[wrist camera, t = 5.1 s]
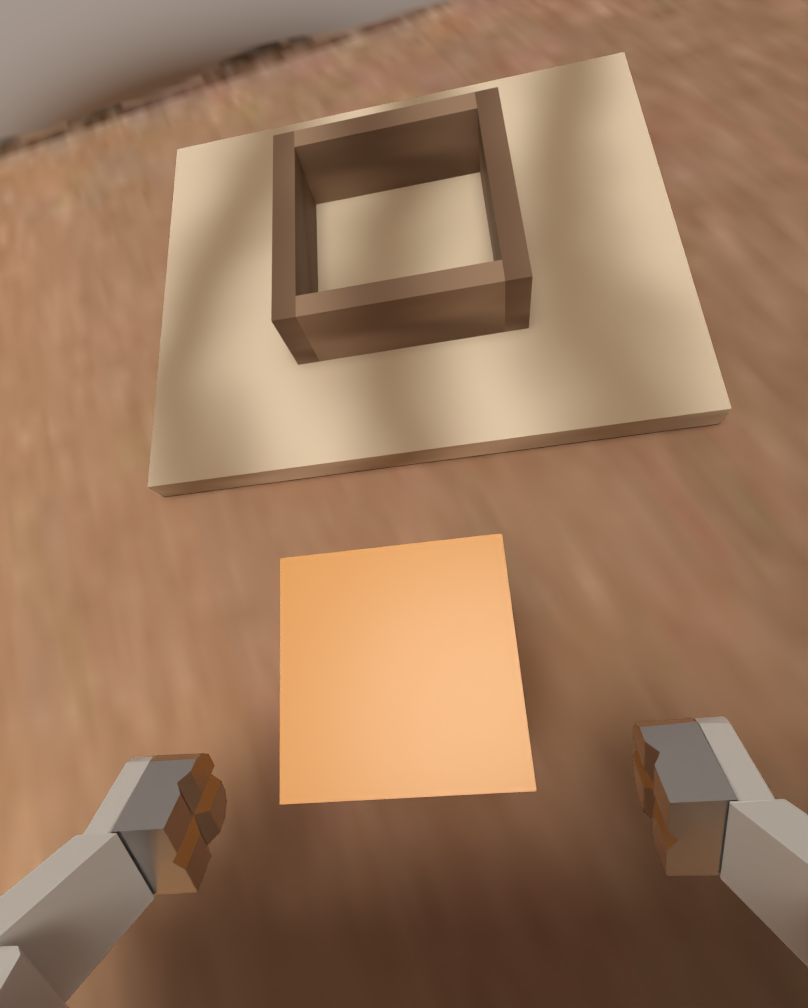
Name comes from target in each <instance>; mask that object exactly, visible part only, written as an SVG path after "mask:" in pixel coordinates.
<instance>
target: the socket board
mask: <svg viewBox="0 0 808 1008" xmlns="http://www.w3.org/2000/svg"><path fill="white" fill-rule="evenodd" d="M730 410H731V405H730V402H729V399H728V395H727V392H726V389H725V385H724V382H723V379H722V375H721V372H720V369H719V365H718V362H717V359H716V355H715V352H714V349H713V346H712V342H711V339H710V336H709V332H708V329H707V326H706V322H705V319H704V316H703V312H702V309H701V306H700V302H699V299H698V296H697V292H696V289H695V286H694V282H693V279H692V276H691V273H690V269H689V266H688V263H687V259H686V256H685V253H684V249H683V246H682V243H681V239H680V236H679V233H678V229H677V226H676V223H675V219H674V216H673V213H672V209H671V206H670V203H669V199H668V196H667V193H666V190H665V186H664V183H663V180H662V176H661V173H660V170H659V166H658V163H657V160H656V156H655V153H654V150H653V146H652V143H651V140H650V136H649V133H648V130H647V126H646V123H645V120H644V117H643V113H642V110H641V107H640V103H639V100H638V97H637V93H636V90H635V87H634V83H633V80H632V77H631V73H630V70H629V67H628V63H627V60H626V57H625V53H624V52H622V53H618V54H613V55H608V56H604V57H599V58H595V59H590V60H585V61H581V62H576V63H572V64H567V65H562V66H558V67H553V68H549V69H544V70H540V71H535V72H530V73H526V74H521V75H517V76H512V77H507V78H503V79H498V80H494V81H489V82H485V83H480V84H475V85H471V86H466V87H462V88H457V89H452V90H448V91H443V92H439V93H434V94H430V95H425V96H420V97H416V98H411V99H407V100H402V101H397V102H393V103H388V104H384V105H379V106H374V107H370V108H365V109H361V110H356V111H352V112H347V113H342V114H338V115H333V116H329V117H324V118H319V119H315V120H310V121H306V122H301V123H297V124H292V125H287V126H283V127H278V128H274V129H269V130H264V131H260V132H255V133H251V134H246V135H242V136H237V137H232V138H228V139H223V140H219V141H214V142H209V143H205V144H200V145H196V146H191V147H187V148H182V149H177V161H176V172H175V183H174V195H173V206H172V217H171V229H170V240H169V251H168V262H167V274H166V285H165V296H164V308H163V319H162V330H161V341H160V353H159V364H158V375H157V387H156V398H155V409H154V420H153V432H152V443H151V454H150V466H149V477H148V488H150V489H152V490H153V491H155V492H157V493H158V494H160V495H162V496H163V497H166V496H174V495H181V494H189V493H196V492H204V491H211V490H219V489H227V488H234V487H242V486H249V485H257V484H265V483H272V482H280V481H287V480H295V479H303V478H310V477H318V476H325V475H333V474H341V473H348V472H356V471H363V470H371V469H379V468H386V467H394V466H401V465H409V464H417V463H424V462H432V461H439V460H447V459H455V458H462V457H470V456H477V455H485V454H493V453H500V452H508V451H515V450H523V449H531V448H538V447H546V446H553V445H561V444H569V443H576V442H584V441H591V440H599V439H607V438H614V437H622V436H629V435H637V434H645V433H652V432H660V431H667V430H675V429H683V428H690V427H698V426H705V425H713V424H720V422H721V421H722V420H723V419H724V417H725V416H726V415H727V414H728V412H729V411H730Z"/></svg>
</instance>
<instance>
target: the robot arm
mask: <svg viewBox="0 0 808 1008" xmlns="http://www.w3.org/2000/svg"><path fill="white" fill-rule="evenodd" d="M633 739H634V742H635V745H636V748H637V752H636V753H635V754H634V755H633V772H634V779H635V785H636V789H637V793H638V796H639V800H640V803H641V806H642V809H643V812H644V813H646V814H647V815H648V816H649V817H650V818H651V819H652V838H653V840H654V843H655V846H656V849H657V852H658V855H659V857H660V860H661V863H662V866H663V869H664V871H665V874H666V876H687V875H720V878H721V880H722V881H723V882H724V883H725V884H726V885H727V886H728V887H729V888H730V889H731V890H732V891H733V892H734V893H735V894H736V895H737V896H738V897H739V898H740V899H741V900H742V901H743V902H744V903H745V904H746V905H747V906H748V907H749V908H750V909H751V910H752V911H753V912H754V913H755V914H756V915H757V916H758V917H759V918H760V919H761V920H762V921H763V922H764V923H765V924H766V925H767V926H768V927H769V928H770V929H771V931H772V932H773V933H774V934H775V935H776V936H777V937H778V938H779V939H780V940H781V941H782V942H783V943H784V944H785V945H786V946H787V947H788V948H789V949H790V950H791V951H792V952H793V953H794V954H795V955H796V956H797V957H798V958H799V959H800V960H801V961H802V962H803V963H804V964H805V965H806V966H807V967H808V815H807V814H806V813H805V812H803V811H802V810H800V809H799V808H797V807H796V806H795V805H793V804H792V803H790V802H789V801H787V800H786V799H775V798H774V796H773V794H772V792H771V791H770V789H769V787H768V786H767V784H766V782H765V781H764V779H763V777H762V776H761V774H760V772H759V771H758V769H757V767H756V765H755V764H754V762H753V760H752V759H751V757H750V755H749V754H748V752H747V750H746V749H745V747H744V745H743V744H742V742H741V740H740V739H739V737H738V735H737V733H736V732H735V730H734V728H733V727H732V725H731V723H730V722H729V720H727V719H726V718H725V717H724V716H719V717H706V718H694V719H691V718H687V719H675V720H662V721H650V722H638V723H635V724H634V727H633ZM213 768H214V763H213V761H212V760H211V758H210V756H209V754H203V753H201V754H176V755H157V756H137V757H133V758H132V759H130V760H129V761H128V762H127V763H126V764H125V765H124V767H123V769H122V770H121V772H120V774H119V775H118V777H117V779H116V780H115V782H114V784H113V785H112V787H111V789H110V790H109V792H108V794H107V795H106V797H105V799H104V800H103V802H102V804H101V805H100V807H99V809H98V810H97V812H96V814H95V815H94V817H93V819H92V820H91V822H90V824H89V825H88V827H87V829H86V830H85V832H84V834H82V835H75V836H74V837H73V838H72V839H70V840H69V841H68V842H67V843H65V844H64V845H63V846H62V847H61V848H59V849H58V850H57V851H56V852H54V853H53V854H52V855H51V856H49V857H48V858H47V859H46V860H45V861H43V862H42V863H41V864H40V865H38V866H37V867H36V868H35V869H34V870H32V871H31V872H30V873H29V874H27V875H26V876H25V877H24V878H22V879H21V880H20V881H19V882H18V883H16V884H15V885H14V886H13V887H11V888H10V889H9V890H8V891H7V892H5V893H4V894H3V895H2V896H0V1008H69V1007H68V1006H67V1005H66V1001H67V1000H68V999H69V998H70V997H71V995H72V994H73V993H74V992H75V991H76V990H77V988H78V987H79V986H80V985H81V984H82V983H83V981H84V980H85V979H86V978H87V977H88V976H89V974H90V973H91V972H92V971H93V970H94V969H95V967H96V966H97V965H98V964H99V963H100V962H101V960H102V959H103V958H104V957H105V956H106V955H107V953H108V952H109V951H110V950H111V949H112V948H113V946H114V945H115V944H116V943H117V942H118V940H119V939H120V938H121V937H122V936H123V935H124V933H125V932H126V931H127V930H128V929H129V928H130V926H131V925H132V924H133V923H134V922H135V921H136V919H137V918H138V917H139V916H140V915H141V914H142V912H143V911H144V910H145V909H146V908H147V907H148V905H149V904H150V903H151V902H152V901H153V900H154V898H155V897H154V895H164V894H179V893H194V892H198V890H199V887H200V884H201V882H202V879H203V876H204V874H205V871H206V868H207V866H208V863H209V860H210V858H211V854H210V850H209V847H208V844H209V843H210V842H211V841H212V840H213V839H214V838H215V837H216V836H217V835H218V834H219V833H220V830H221V828H222V825H223V822H224V819H225V812H226V804H227V799H226V792H225V788H224V786H223V784H222V781H221V780H219V779H218V778H216V777H215V776H213V775H212V774H211V773H212V770H213Z"/></svg>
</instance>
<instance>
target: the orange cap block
mask: <svg viewBox="0 0 808 1008" xmlns="http://www.w3.org/2000/svg"><path fill="white" fill-rule="evenodd" d="M527 791H536V783H535V776H534V768H533V761H532V754H531V746H530V739H529V731H528V724H527V716H526V709H525V702H524V694H523V687H522V679H521V672H520V664H519V657H518V650H517V642H516V635H515V627H514V620H513V613H512V605H511V598H510V590H509V583H508V575H507V568H506V561H505V553H504V546H503V538H502V534H493V535H484V536H475V537H466V538H458V539H449V540H440V541H431V542H422V543H413V544H404V545H396V546H387V547H378V548H369V549H360V550H351V551H342V552H333V553H325V554H316V555H307V556H298V557H289V558H280V805H281V804H300V803H319V802H338V801H357V800H376V799H395V798H414V797H433V796H452V795H470V794H489V793H508V792H527Z"/></svg>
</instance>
